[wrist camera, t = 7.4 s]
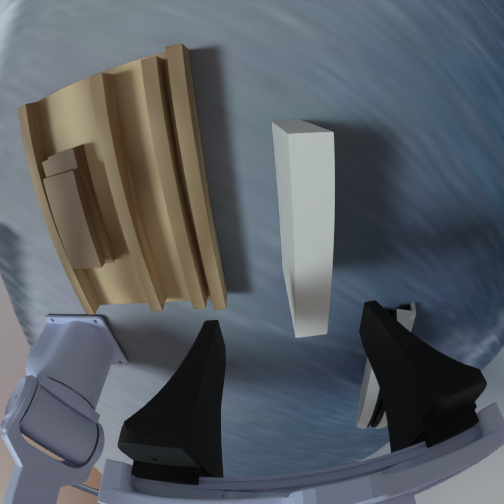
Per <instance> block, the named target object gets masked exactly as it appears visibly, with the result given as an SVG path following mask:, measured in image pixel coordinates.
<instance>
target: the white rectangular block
mask: <svg viewBox="0 0 504 504" xmlns="http://www.w3.org/2000/svg"><path fill="white" fill-rule="evenodd" d="M272 130H273V141H274V152H275V164H276V176H277V189H278V202H279V216H280V231H281V248H282V265H283V272H284V278H285V283H286V288H287V293H288V298H289V304H290V309H291V315H292V320H293V326H294V331H295V337H296V338H299V337H307V336H315V335H322V334H327V327H328V317H329V306H330V294H331V281H332V265H333V246H334V214H335V160H334V132H332V131H330V130H327V129H325V128H322V127H319V126H317V125H314V124H311V123H308V122H306V121H303V120H285V121H272Z"/></svg>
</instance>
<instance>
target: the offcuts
mask: <svg viewBox="0 0 504 504" xmlns="http://www.w3.org/2000/svg"><path fill="white" fill-rule="evenodd" d="M42 165H43V168H44V171H45V175H46V178H44V179H43V182H44V186H45V189H46V193H47V197H48V200H49V204H50V207H51V211H52V214H53V217H54V220H55V223H56V226H57V229H58V232H59V235H60V238H61V241H62V244H63V246H64V249H65V252H66V254H67V257H68V259H69V262H70V264H71V267H72V269H87V268H102V267H103V265H104V264H105V263H114V261H115V260H116V256H115V253H114V250H113V247H112V244H111V241H110V239H109V236H108V233H107V230H106V227H105V223H104V220H103V217H102V214H101V211H100V207H99V204H98V200H97V197H96V193H95V190H94V186H93V182H92V178H91V174H90V170H89V166H88V162H87V158H86V153H85V149H84V144H82V145H79V146H76V147H73V148H71V149H68V150H65V151H62V152H60V153H57V154H55V155H52V156H50V157H48V160H46V161H44V162H42Z"/></svg>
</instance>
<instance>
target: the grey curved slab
mask: <svg viewBox="0 0 504 504" xmlns="http://www.w3.org/2000/svg"><path fill="white" fill-rule="evenodd" d="M392 316H393V317H394V318H395V319H396V320H397V321H398V322H400V323H401V324H402V325H403V326H404V327H405V328H406V329H408V330H409V331H410V332H411V331H412V327H413V323H414V320H415V316H416V307H415V302H411V304H410V308H409V310H402V309H397V311H396V313H395V312H393V315H392ZM370 425H371V427H374V429H378V428H384V427H385V426H387V425H388V424H387V418H386V413H385V408H384V403H383V399H382V395H381V391H380V388H379V385H378V382H377V379H376V377H375V374H374V372H373V369H372V367H371V364H370V362H369V360H368V357H367V360H366V366H365V371H364V376H363V380H362V385H361V390H360V398H359V406H358V414H357V421H356V427H359V428H363V429H365V428H366V427H369V426H370Z"/></svg>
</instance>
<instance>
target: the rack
mask: <svg viewBox="0 0 504 504" xmlns="http://www.w3.org/2000/svg"><path fill="white" fill-rule="evenodd" d="M18 115H19V121H20V128H21V133H22V139H23V144H24V149H25V153H26V158H27V162H28V166H29V170H30V174H31V178H32V181H33V185H34V188H35V192H36V195H37V198H38V202H39V205H40V208H41V211H42V214H43V217H44V220H45V223H46V225H47V228H48V231H49V233H50V236H51V239H52V241H53V244H54V246H55V249H56V251H57V254H58V256H59V258H60V261H61V263H62V265H63V267H64V270H65V272H66V274H67V276H68V278H69V280H70V283H71V285H72V287H73V289H74V291H75V293H76V295H77V297H78V299H79V301H80V303H81V305H82V306H83V308H84V310H85V312H86V314H95V313H96V311H97V309H98V307H99V306H100V305H103V304H132V303H149V306H150V308H151V311H162V310H163V307H164V304H165V302H172V301H188V300H191V302H192V305H193V308H194V309H204V308H206V303H207V299H212V303H213V307H214V310H221V309H226V304H227V287H226V282H225V277H224V272H223V266H222V261H221V256H220V250H219V245H218V239H217V234H216V228H215V223H214V217H213V211H212V205H211V200H210V194H209V188H208V182H207V175H206V169H205V163H204V157H203V150H202V144H201V137H200V130H199V123H198V116H197V109H196V102H195V95H194V87H193V79H192V71H191V63H190V55H189V49H188V48H186V47H185V46H184V45H183V44H177V45H173V46H168V47H166V52H165V53H161V54H157V55H153V56H150V57H146V58H142V59H139V60H136V61H133V62H129V63H126V64H123V65H120V66H117V67H114V68H112V69H109V70H106V71H103V72H101V73H98V74H96V75H93V76H91V77H88V78H86V79H83V80H81V81H79V82H76V83H74V84H72V85H70V86H68V87H65V88H63V89H61V90H59V91H57V92H55V93H53V94H51V95H49V96H47V97H45V98H43V99H42V100H40V101H38V102H35V103H29V104H25V105H23V106H21V107H20V108H18ZM82 144H84V149H85V153H86V158H87V162H88V166H89V170H90V174H91V178H92V182H93V186H94V190H95V193H96V197H97V200H98V204H99V207H100V211H101V214H102V217H103V220H104V223H105V227H106V230H107V233H108V236H109V239H110V241H111V244H112V247H113V250H114V253H115V256H116V260H115V261H114V263H105V264H104V265H103V267H102V268H87V269H72V267H71V264H70V262H69V259H68V257H67V254H66V252H65V249H64V246H63V244H62V241H61V238H60V235H59V232H58V229H57V226H56V223H55V220H54V217H53V214H52V211H51V207H50V204H49V200H48V197H47V193H46V189H45V186H44V182H43V179H44V178H46V175H45V171H44V168H43V165H42V162H44V161H46V160H48V157H50V156H52V155H55V154H57V153H60V152H62V151H65V150H68V149H71V148H73V147H76V146H79V145H82Z"/></svg>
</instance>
